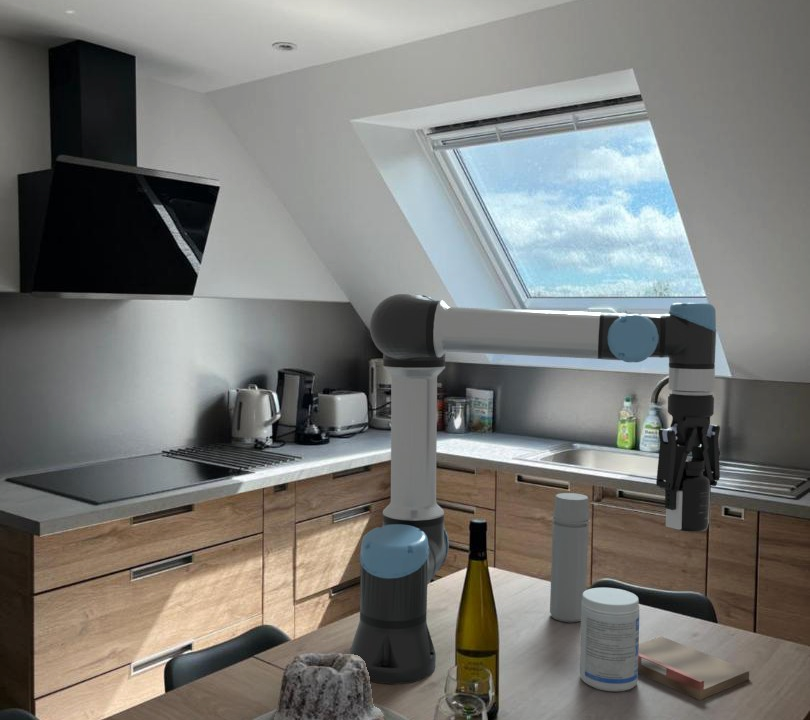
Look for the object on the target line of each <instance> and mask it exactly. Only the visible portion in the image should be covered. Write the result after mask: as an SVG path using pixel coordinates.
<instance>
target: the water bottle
mask: <svg viewBox="0 0 810 720" xmlns="http://www.w3.org/2000/svg"><path fill="white" fill-rule="evenodd" d="M554 498H555V499H554V505H553V506H554V507H553V513H552V517H550V519H551V520H553V521H552V531H551V540H552V541H551V563H550V564H551V565H550V568H551V569H550V595H549V597H550V599H549V601H550V602H549V613H550V615H551V617H552V618H553V619H555V620H557V621H559V622H564V623H573V624H574V623H577V622H581V604H582V603H581V602H582V596H583V592H584V591H586V590H587V584H588V583H587V581H588V580H587V578H588V577H587V576H588V575H587V574H588V553H589V552H588V550H589V544H588V543H589V524H588V523H591V519H590V517H591V515H590V505H589V504H590V503H589V501H590V500H589V497H588V495H585V494H581V493H576V492H575V493H574V492H562V493H561V492H560V493H557V494H555V497H554Z"/></svg>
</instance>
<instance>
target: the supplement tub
mask: <svg viewBox="0 0 810 720" xmlns="http://www.w3.org/2000/svg"><path fill="white" fill-rule="evenodd" d="M581 603H582V604H581V621H580V648H579V649H580V650H579V651H580V652H579V653H580V654H579V656H580V657H579V658H580V659H579V675H580V678H581V680H582V681H583V683H586V684H587V686H590V687H593V688H594V689H596V690H599V691H605V692H606V691H607V692H625V691H628V690H631V689H633V688H634V687H635V686H636V685H637V683H638V680H639V673H638V651H639V644H640V643H639V642H640V641H639V639H640V605H639V604H640V601H639V597H638V595H636V594H635V593H633V592H630V591H628V590H625V589H621V588H614V587H593V588H589V589H586V591H584V592H583V596H582V602H581Z"/></svg>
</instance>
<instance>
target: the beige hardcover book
mask: <svg viewBox="0 0 810 720" xmlns="http://www.w3.org/2000/svg"><path fill="white" fill-rule="evenodd" d="M638 674H640V675H642V676H645V677H646V678H649V679H650V680H653V681H656V682H658V683H660V684H662V685H665V686H667V687H669V688H672V689H674V690H676V691H678V692H681V693H682V694H684V695H687V696H689V697H692V698H694V699H697V701H701V700H703V699H705V698H708V697H710V696H712V695H715V694H717V693H720V692H722V691H724V690H727V689H729V688H732V687H734V686H736V685H739V684H742V683H744V682H746V681H748V680H750V670H748V669H745V668H743V667H740V666H738V665H736V664H733V663H730V662H728V661H725V660H724V659H720V658H718V657H715V656H713V655H711V654H710V655H709V654H708V653H705V652H703V651H701V650H697V649H695V648H692V647H690V646H686V645H685V644H682V643H679V642H677V641H674V640H671V639H669V638H667V637H664V636H659V637H657V638H653V639H650V640H647V641H644V642H641V643H639V651H638Z"/></svg>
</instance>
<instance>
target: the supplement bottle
mask: <svg viewBox="0 0 810 720" xmlns="http://www.w3.org/2000/svg"><path fill="white" fill-rule="evenodd" d="M704 464H705V461H704V460H703V459H700V458H695V457H692V456H687V459H686V463H685V467H684V471H683V475H682V479H681V483H680V487H679V491H683V492H682V529H680V530H678V529H674V528H672V529H673V530H677V531H681V532H686V533H687V532H690V533H698V532H699V533H700V532H704V531H706V530H707V529H708V527H709V523H708V521H709V522H710V507H709V497H711V496H710V480H709V478H708V477H707V476H706V475H704V474H703V471H705V468H704ZM673 483H674V482H673Z"/></svg>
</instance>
